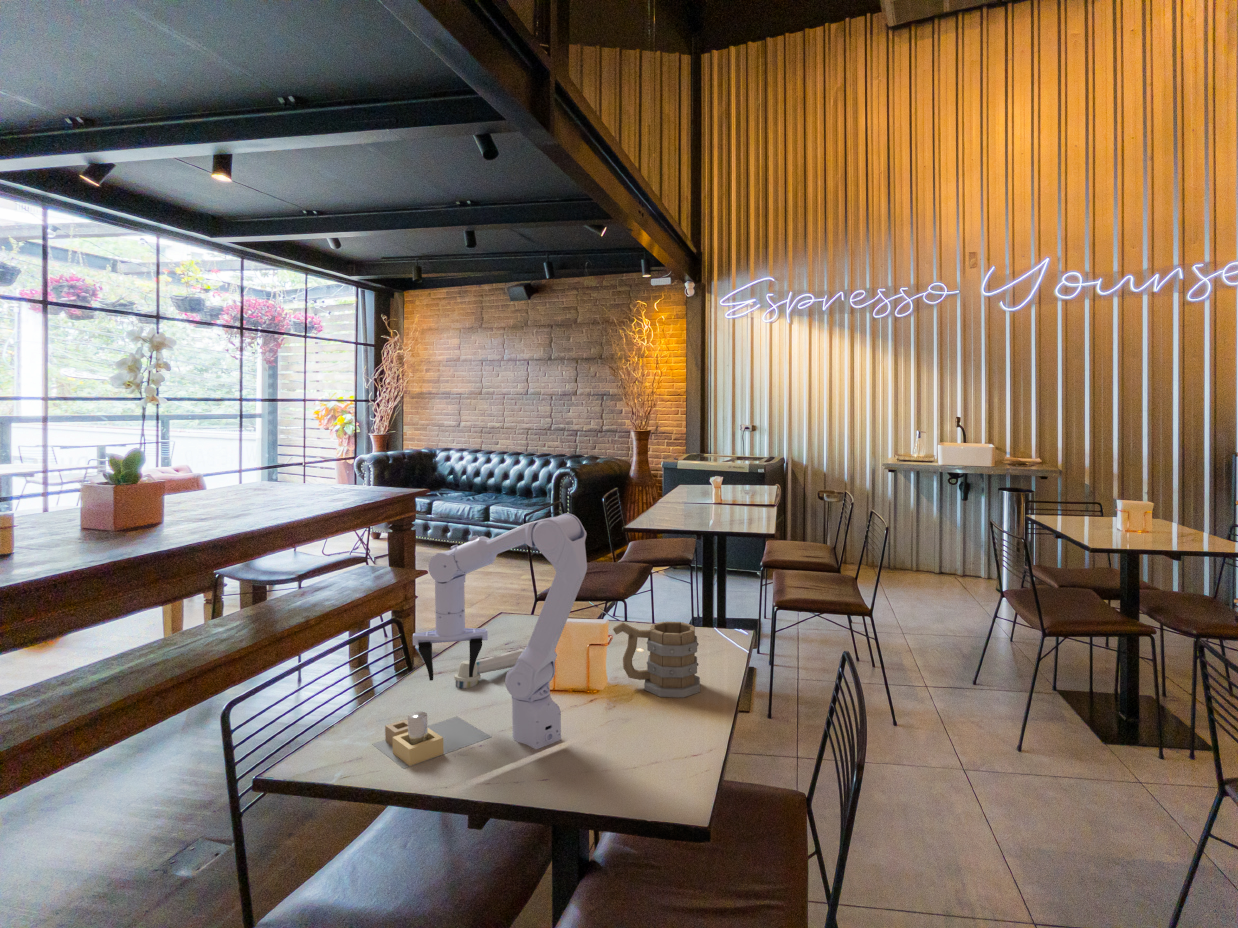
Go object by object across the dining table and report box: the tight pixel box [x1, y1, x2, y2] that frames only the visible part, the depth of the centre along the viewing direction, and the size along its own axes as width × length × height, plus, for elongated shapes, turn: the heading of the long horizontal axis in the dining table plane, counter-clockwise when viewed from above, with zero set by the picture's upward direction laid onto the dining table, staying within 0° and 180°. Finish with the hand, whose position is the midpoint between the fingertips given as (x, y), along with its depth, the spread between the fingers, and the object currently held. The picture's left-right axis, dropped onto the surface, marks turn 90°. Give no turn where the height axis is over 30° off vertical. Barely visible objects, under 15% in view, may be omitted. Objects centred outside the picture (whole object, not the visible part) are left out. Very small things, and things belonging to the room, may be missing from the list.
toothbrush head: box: [453, 646, 526, 689], centre depth 169 cm, size 5×7×25 cm
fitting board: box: [371, 716, 492, 770], centre depth 132 cm, size 13×18×4 cm
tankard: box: [612, 621, 701, 699], centre depth 161 cm, size 20×13×15 cm, turn 84°
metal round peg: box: [407, 711, 428, 745], centre depth 127 cm, size 3×3×7 cm
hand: (451, 677), depth 140 cm, fingers open, 7 cm apart
